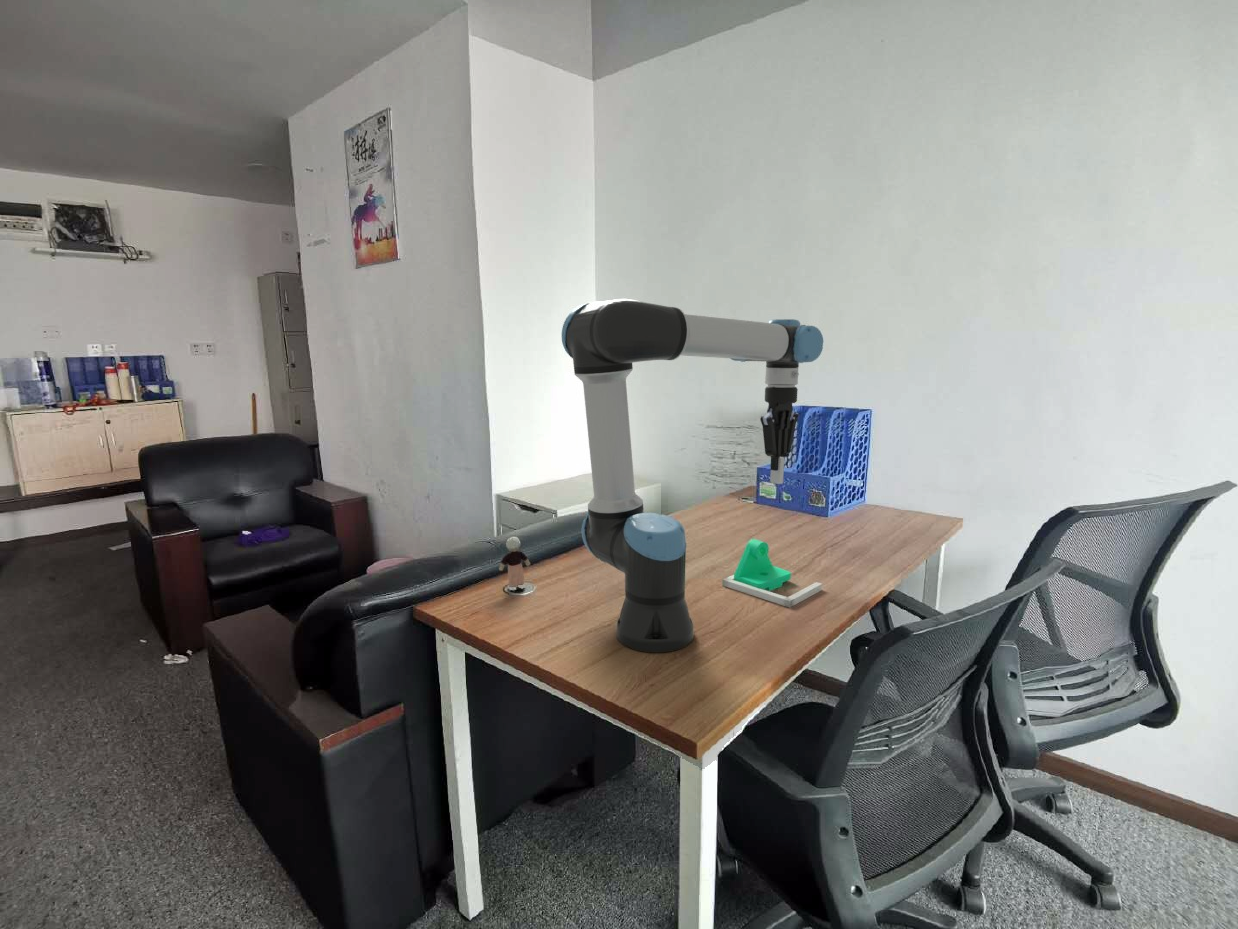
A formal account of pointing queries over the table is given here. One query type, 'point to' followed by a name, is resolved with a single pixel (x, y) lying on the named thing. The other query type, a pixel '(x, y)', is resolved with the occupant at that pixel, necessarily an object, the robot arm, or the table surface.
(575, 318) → the robot arm
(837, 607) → the table surface
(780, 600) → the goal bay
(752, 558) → the camera mount
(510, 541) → the grandmother figurine
